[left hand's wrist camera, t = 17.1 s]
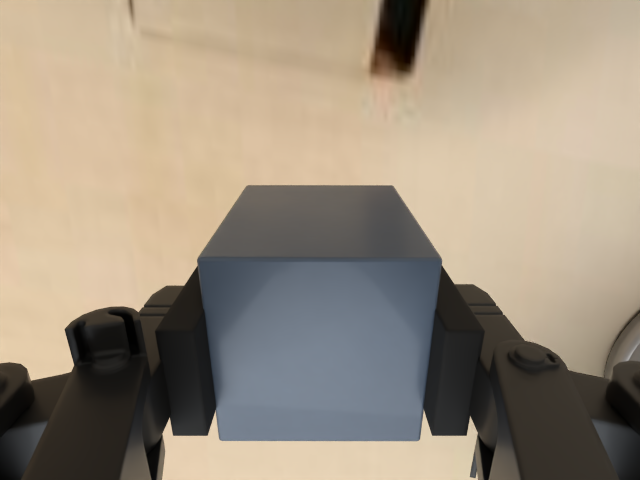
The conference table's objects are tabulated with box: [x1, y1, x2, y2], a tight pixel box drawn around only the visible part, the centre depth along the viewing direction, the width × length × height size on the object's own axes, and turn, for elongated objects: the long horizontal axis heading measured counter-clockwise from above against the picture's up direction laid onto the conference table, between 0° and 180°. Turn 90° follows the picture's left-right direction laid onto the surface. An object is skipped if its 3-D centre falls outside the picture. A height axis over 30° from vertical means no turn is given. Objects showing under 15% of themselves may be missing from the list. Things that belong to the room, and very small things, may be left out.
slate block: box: [197, 185, 442, 441], centre depth 12 cm, size 5×5×6 cm
